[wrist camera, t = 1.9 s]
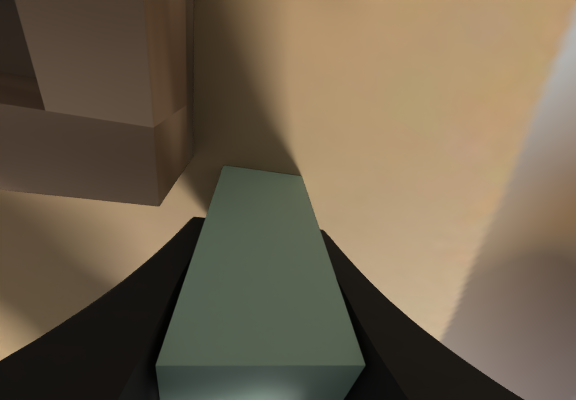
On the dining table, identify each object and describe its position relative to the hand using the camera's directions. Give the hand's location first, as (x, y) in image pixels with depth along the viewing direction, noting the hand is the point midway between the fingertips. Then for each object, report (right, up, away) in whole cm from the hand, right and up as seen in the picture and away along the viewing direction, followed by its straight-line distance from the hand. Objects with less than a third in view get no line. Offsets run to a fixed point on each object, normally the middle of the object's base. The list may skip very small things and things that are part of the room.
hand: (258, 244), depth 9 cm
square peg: (0, +1, +3) cm, 3 cm away
